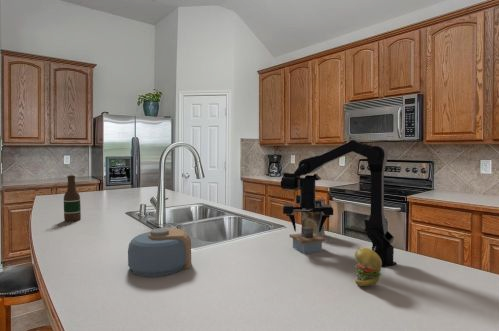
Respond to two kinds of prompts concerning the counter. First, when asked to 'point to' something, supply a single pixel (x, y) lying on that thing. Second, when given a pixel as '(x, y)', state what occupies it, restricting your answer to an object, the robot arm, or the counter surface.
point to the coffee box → (314, 219)
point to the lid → (307, 236)
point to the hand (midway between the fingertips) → (307, 231)
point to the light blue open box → (307, 246)
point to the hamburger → (367, 267)
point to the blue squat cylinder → (159, 252)
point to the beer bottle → (72, 202)
